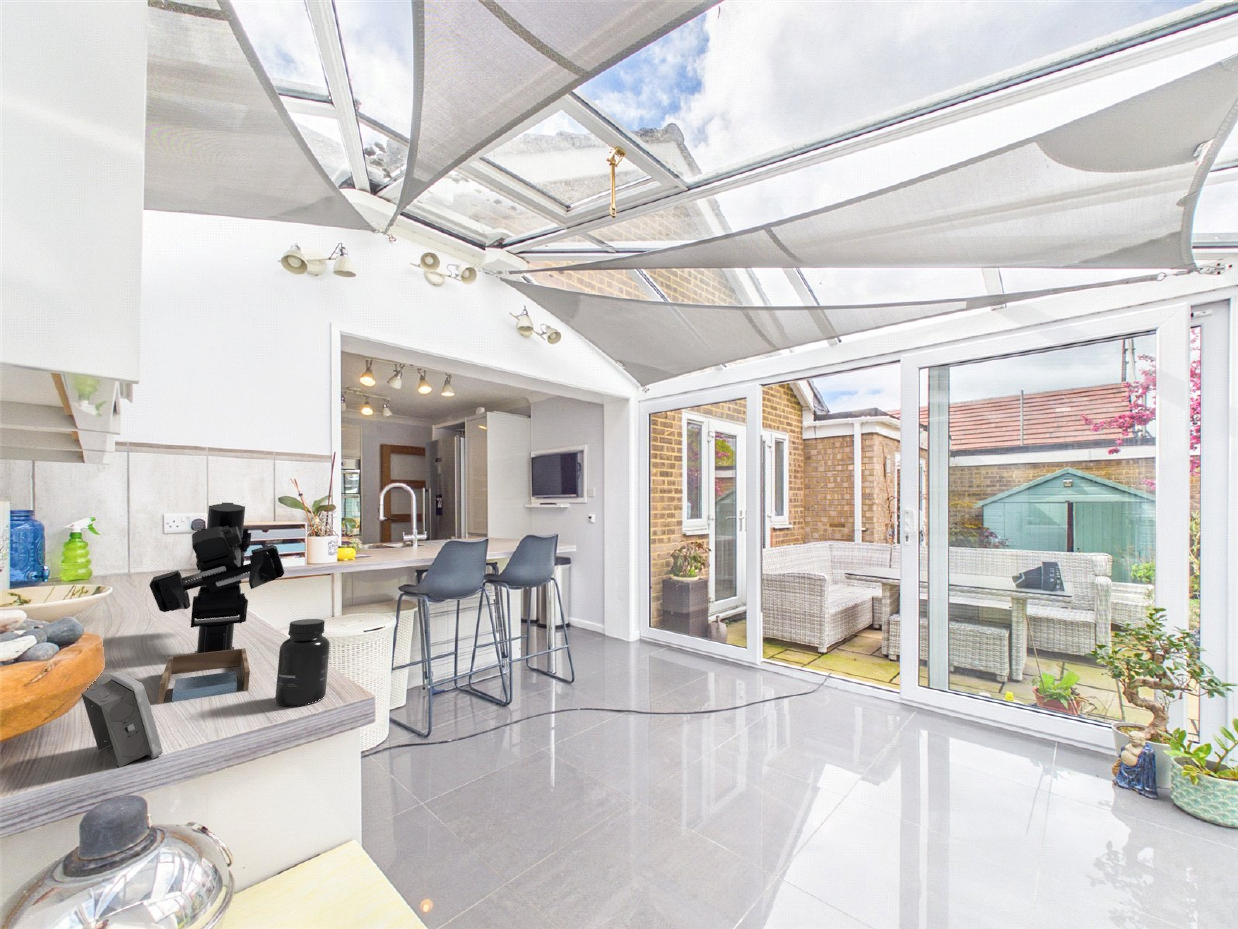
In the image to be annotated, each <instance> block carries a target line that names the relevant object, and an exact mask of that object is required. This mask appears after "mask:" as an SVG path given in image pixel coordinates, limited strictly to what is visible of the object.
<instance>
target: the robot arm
mask: <svg viewBox="0 0 1238 929" xmlns="http://www.w3.org/2000/svg"><path fill="white" fill-rule="evenodd" d="M207 511H208V513H207V520H206V521H207V524H206V528H203V527H201V530H198V531H195V532H193V533H192V534H191V546H192V549H193V551H194V553H195V559H196V563H195V566H196V569H197V571H199V572H196V573H193V574H190V575H185V576H182V573H181V572H180V571H179V570H174V571H170V572H167V573H163V574H159V575H156V576H153V577H152V579H151V580H150V582H149V585H148V586H149V589H150V590H151V592H152V595H153V598H154V601H155V602H156V605H157V607H158V610H159V612H163V613H167V612H173V611H177V610H188V609H189V608H190V607H191V617H190V618H191V619H190V628H198V634H197V649H196V650H195V651H194V653H193V654H198V653H207V652H216V651H225V650H234V649H235V647H234V646H233V642H234V630H235V629H234V628H235V624H243V623H244V622H247V614H248V605H249V600H248V598H247V597H246V595H245V592H244V593H243V592H241V591H242V589H241V588H242V587H241V585H240V584H242V583H243V582H242V580H244V579H248V584H249V587H250V589H251V590H254V589H256V588H257V587H260V586H262V585H265V584H267V583H270V582H272V581H275V580H276V579H280V578H282V577H283V576H284V574H285V570H284V569H285V568H284V566H283V565H284V564H283V561H282V558H281V557H280V553H279V550H278V547H277V546H276V545H274V544H269V545H266V546H262V547H258V548H255V549H251V555H250V554H249V560H250V563H246V564H244V562H245V554H246V552H248V549H249V548H250V547H251V540H252V532H249V528H247V527H246V528H245V526H244V523H245V514H246V506H244V505H240V504H235V503H234V502H221V503H217V504H212V505H209V506H208V509H207ZM199 587H200V588H199ZM195 588H199V589H198V591H197V595H193V597H192V605H191V602H190V601H191V600H190V594H189V592H188V591H189V590H192V589H195Z"/></svg>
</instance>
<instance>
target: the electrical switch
mask: <svg viewBox="0 0 1238 929" xmlns="http://www.w3.org/2000/svg"><path fill="white" fill-rule="evenodd" d="M145 688H146V687H145V686H144V684H143V682H141V681H138V680H136V679H135V678H133V677H130V676H129V675H127V674H126V673H123V672H121V671H114V672H112V673H109V680H108V681H107V682H104V683H101V684H99V685H98V686H95V687H94V688H90V689H88V690H87V689H86V690H85V691H82V692H81V693H80V694H81V698H82V702H83V704H84V707H85V711H86V714H87V717H88V720H89V723H90V727H91V729H92V733H93V738H94V741H95V744H96V747H97V750H98V751H99V752H100V753H101V754H102V755H104V756H105V757H106V758H107V759H109V760H110V761H111V762H113V763H114V764H115V765H116V766H117V767H118V768H122V767H123V766H126V765H128V764H130V763H132V762H135V761H136V760H139V759H141V758H143V757H145V756H149V757H150V758H151V759H156V758H157V757H159V756H161V755H162V754H163V748H162V743H161V738H160V734H159V731H158V728H157V724H156V721H155V717H154V714H153V710H152V706H151V703H150V700H149V698H148V695H147V692H146V689H145Z"/></svg>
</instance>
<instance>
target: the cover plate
mask: <svg viewBox="0 0 1238 929" xmlns="http://www.w3.org/2000/svg"><path fill="white" fill-rule="evenodd" d="M236 672H237V671H236V670H233V671H227V672H219V673H217V672H216V673H211V674H205V675H197V676H190V677H181V678H176V679H175V682H174V685H173V689H172V699H171V702H172V703H175V702H182V701H189V700H194V699H202V698H203V699H204V698H208V697H215V696H221V695H228V694H233V693H234V694H235V693H237V690H238V679H237V678H238V677H237V673H236Z"/></svg>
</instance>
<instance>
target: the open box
mask: <svg viewBox="0 0 1238 929" xmlns="http://www.w3.org/2000/svg"><path fill="white" fill-rule="evenodd" d="M246 649H247V648H245V647H242V648H237V649H236V648H234V650H225V651H216V652H207V653H198V654H194V653H191V654H180V655H174V656H168V659H167V663H166V666H165V668H164V670H163V674H162V676H161V679H160V682H159V691H158V699H157V700H158V701H157V705H160V704H164V703H165V698H166V695H167V691H168V689H169V684H170V681H171V677H172V676H173V675H177V674H185V673H190V672H191V673H193V672H200V671H207V670H215V669H217V670H218V669H223V668H232V667H239V665H240V673H241V681H242V688H243V691H244V692H246V691H249V687H250V686H249V685H250V677H251V676H250V675H251V673H250V672H251V670H250V664H249V660H248V656H247V650H246Z"/></svg>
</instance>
